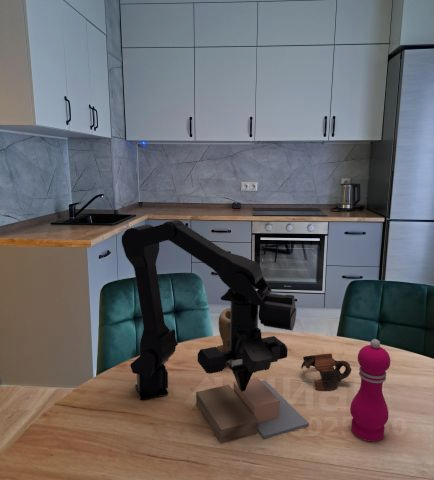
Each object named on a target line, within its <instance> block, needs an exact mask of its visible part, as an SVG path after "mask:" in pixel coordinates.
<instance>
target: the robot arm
mask: <svg viewBox="0 0 434 480" xmlns="http://www.w3.org/2000/svg"><path fill="white" fill-rule="evenodd" d="M120 240H121V245H122V248H123V252H124V254H125V257H126V259H127V260H128V262H129V263H130V264H131V266H132V267H133V270H134V275H135V282H136V288H137V296H138V301H139V308H140V313H141V319H142V325H143V330H142V332H141V333H142V334H141V337H140V341H139V356H138V357H137V358H136V359H134V360H133V362H131V363H130V364H129V366H130V369H131V371H132V373H133V374H134V375H136V384H135V385H134V386H135V387H134V388H135V390H136V392H137V394H138V397H139V400H141V401H144V400H151V399H154V398H158V397H163V396H167V395H168V394H169V391H168V388H169V371H168V370H167V369H166V365H165V363H166V362H168V361H169V359H170V358H171V357H172V356H173V355H174V353H175V352H176V348H177V346H178V345H179V344H178V341H177V340H176V331H175V328H173V329H170V328H169V327H168V326H167V325H166V323H165V317H164V311H163V310H164V309H163V304H162V298H161V291H160V285H159V278H158V269H157V266H156V265H157V259H158V256H159V254H160V253H159V252H160V243H162V242H166V241H170V243H172V244H174V245H175V246H176V247H179V248H180V249H182V250H183V251H185V252H186V253H188V254H189V255H191V256H192V257H194V258H195V259H197V260H198V261H200V262H201V263H203V264H205V265H206V266H207V267H209V268H211V269H212V270H213V271H214V272H215V273H216V274H217V276H218V277H219V279H220V280H221V281H222V283H224V285H226V286H227V287H228V288H229V289H227V291H226V293H224V294H223V295H222V296H220V300H221V301H226V302H230V308H231V315H230V323H228V328H229V329H230V341H227V346H228V347H229V348H230V351H225V352H220V351H219V350H218V349H217V348H216V347H217V346H212V347H208V348H207V347H205V348H201V349H199V351H198V353H197V362H198V364H199V365H200V366H201V368H202V369H203V370H204V371H205V373H206V374H215V373H221V372H223V371H224V370H225V368H226V366H227V367H228V368H229V369H230V370H231V371H232V374H233V376H234V378H235V382H237V384H238V387H239V389H240V390H241V392H242V391H245V390H246V387H247V385H248V383H249V380H250V379H251V378H252V376H253V374H255V373H257V372H261V371H268V370H270V369H271V368H270V367H271V364H273V363H276V362H278V360H282V359H287V357H288V347H287V345H286V343H284V342H283V341H282V340H280V339H279V338H277V337H276V336H274V335H273V336H266V337H262V330H261V328H259V321H260V324H261V325H263V327H268V328H274V329H278V330H279V329H280V330H286V331H293V330H294V328H295V325H296V319H297V318H296V317H297V308H296V302H295V295H294V294H293V295H292V294H278V293H277V294H276V293H271V292H272V291H273V290H272V288H271V287H270V285H269V283H267V281H266V279H265V278H264V276H263V271H262V267H261V266H260V264H259V263H258V262H257V261H255V260H253V259H250V258H247V257H244V256H242V255H239V254H235V253H232V252H229V251H226V250H225V249H223V248H222V247H220V246H219V245H217V244H215V243H214V242H212V241H210V240H209V239H207V238H206V237H204V236H203V235H201V234H200V233H198V232H197V231H195V230H193V228H190V227H188V226H187V225H186V224H185V223H183V221H181V220H179V219H172V220H169V221H166V222H164V223H162V224H159V225H155V226H153V225H150V224H143V225H142V224H141V225H137V226H135V227H134V226H133V227H130V228H126V230H125V231H124V233H123V234H122V235H121V239H120Z"/></svg>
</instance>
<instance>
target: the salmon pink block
mask: <svg viewBox="0 0 434 480" xmlns="http://www.w3.org/2000/svg"><path fill="white" fill-rule="evenodd" d="M261 381H262V380H261V379H260V378H258V376H256V377H251V378H250V380H249V383H248V385H247V387H246V390H245V391H242V392H241V390H240V389H239V387H238V384H237V381H233V388H234V392H235V393H236V394H237V395H238V396H239V398H240V399H241V400H242V401H243V402H244V404H245V405H246V406H247V407H248V408H249V410H250V411H251V412H252V413H253V414H254V416H255V417H256V418H257V419H258V423H261V422H265V421H268V420H272V419H276V418H279V411H280V400H279V399H278V398H277V397H276V396H275V395H274V394H273V393H272V392H271V391H270V390H269V389H268V388H267V387H266V386H265V385H264V384H263V383H262V382H261Z"/></svg>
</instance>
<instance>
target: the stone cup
mask: <svg viewBox="0 0 434 480" xmlns="http://www.w3.org/2000/svg"><path fill="white" fill-rule="evenodd" d="M230 315H231V307H230V308H225V309H224V310H223V311H222V312H221V313H220V314H219V317H218V332H219V336H220V339H221V342H222V345H217V346H215V347H216V348H217V349H218V350H219V351H220V352H225V351H230V348H229V347H228V346H227V341H230V329H229V328H228V323H230Z"/></svg>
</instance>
